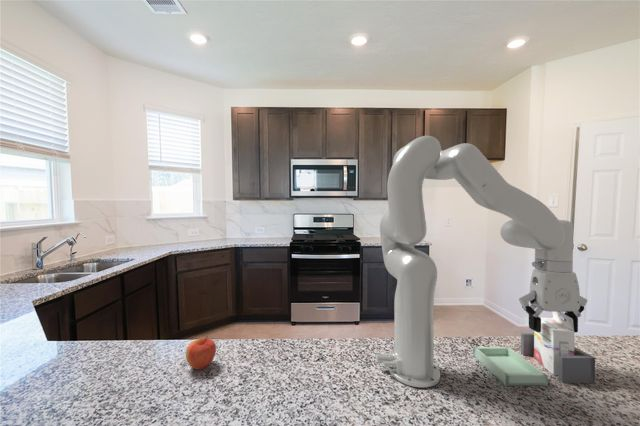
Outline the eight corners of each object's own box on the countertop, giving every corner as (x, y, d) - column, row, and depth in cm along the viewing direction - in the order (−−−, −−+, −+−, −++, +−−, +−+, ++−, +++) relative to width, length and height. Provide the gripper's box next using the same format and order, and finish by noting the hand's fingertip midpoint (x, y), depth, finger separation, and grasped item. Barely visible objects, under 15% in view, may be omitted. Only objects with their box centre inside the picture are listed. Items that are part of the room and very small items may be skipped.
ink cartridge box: (532, 357, 75) (532, 305, 75) (552, 359, 74) (552, 306, 74) (552, 375, 66) (552, 317, 66) (575, 378, 65) (575, 319, 65)
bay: (562, 382, 64) (562, 358, 64) (520, 353, 77) (520, 333, 77) (595, 382, 64) (595, 357, 64) (548, 353, 77) (548, 332, 77)
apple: (183, 365, 71) (183, 336, 71) (211, 356, 76) (211, 328, 76) (189, 379, 65) (189, 347, 65) (219, 368, 70) (219, 338, 70)
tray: (505, 385, 63) (505, 375, 62) (473, 355, 76) (473, 347, 75) (547, 385, 63) (547, 375, 63) (507, 355, 76) (507, 346, 76)
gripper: (532, 269, 66) (532, 337, 66) (600, 269, 66) (600, 336, 66) (510, 263, 74) (510, 324, 74) (571, 263, 74) (571, 323, 74)
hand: (552, 330), depth 70 cm, fingers open, 9 cm apart
